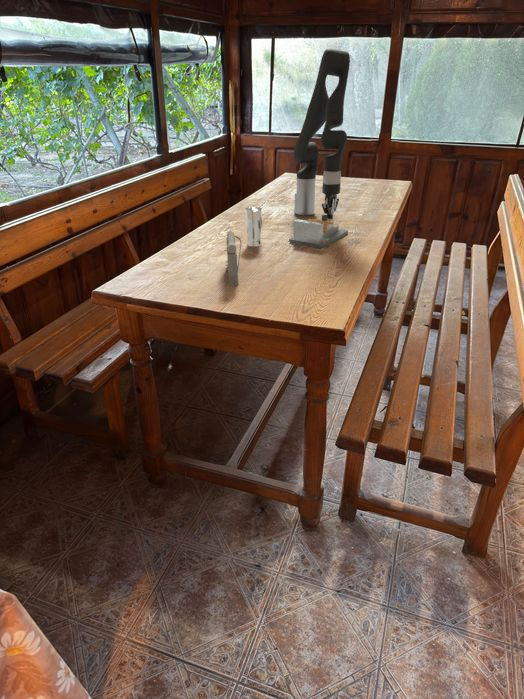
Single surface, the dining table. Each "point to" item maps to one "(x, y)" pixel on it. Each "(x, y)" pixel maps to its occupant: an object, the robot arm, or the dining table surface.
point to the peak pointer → (323, 223)
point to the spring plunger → (324, 218)
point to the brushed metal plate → (308, 231)
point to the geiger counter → (232, 258)
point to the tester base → (325, 238)
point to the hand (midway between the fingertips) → (329, 222)
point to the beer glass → (253, 225)
